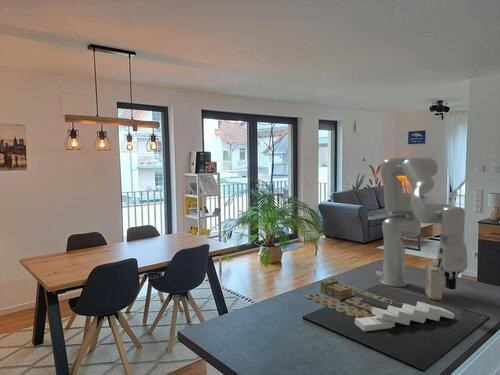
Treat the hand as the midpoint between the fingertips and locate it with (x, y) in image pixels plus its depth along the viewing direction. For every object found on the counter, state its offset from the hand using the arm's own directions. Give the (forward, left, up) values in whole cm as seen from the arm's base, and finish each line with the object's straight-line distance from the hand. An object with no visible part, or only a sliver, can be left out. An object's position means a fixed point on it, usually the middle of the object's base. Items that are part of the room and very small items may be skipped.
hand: (450, 288), depth 138 cm
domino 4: (-4, -6, -10) cm, 12 cm away
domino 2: (-10, -17, -10) cm, 22 cm away
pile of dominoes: (-32, -13, -11) cm, 37 cm away
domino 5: (0, -1, -10) cm, 10 cm away
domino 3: (-7, -12, -10) cm, 17 cm away
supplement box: (-12, +17, -11) cm, 23 cm away
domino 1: (-13, -23, -10) cm, 28 cm away
